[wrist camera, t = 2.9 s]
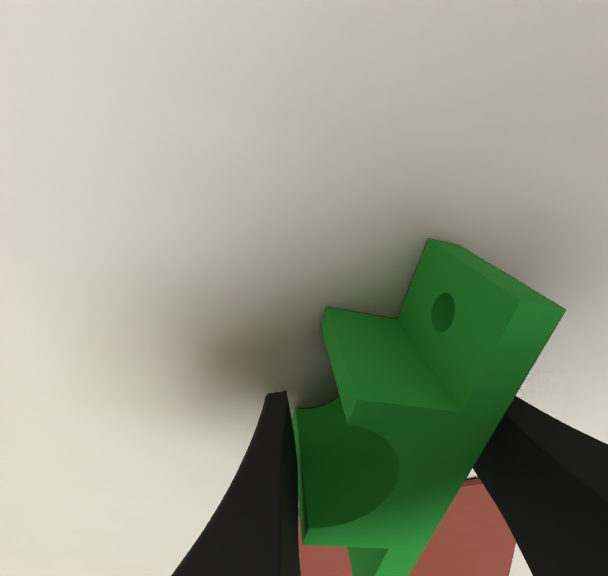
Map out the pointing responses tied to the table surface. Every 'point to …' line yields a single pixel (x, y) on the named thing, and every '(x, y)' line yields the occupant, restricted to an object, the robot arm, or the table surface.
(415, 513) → the pipe clamp
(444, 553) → the napkin
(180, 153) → the table surface
